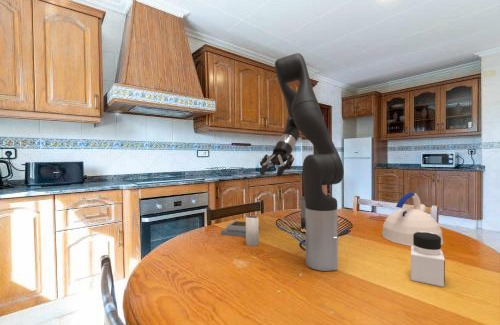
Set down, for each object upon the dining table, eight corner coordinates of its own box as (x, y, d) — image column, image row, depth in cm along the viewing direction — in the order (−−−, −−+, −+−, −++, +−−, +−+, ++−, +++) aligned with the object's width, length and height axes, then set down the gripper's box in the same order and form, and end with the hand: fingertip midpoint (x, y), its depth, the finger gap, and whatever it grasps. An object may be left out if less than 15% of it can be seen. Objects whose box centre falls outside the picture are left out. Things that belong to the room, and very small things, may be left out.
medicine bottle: (444, 287, 64) (445, 239, 63) (410, 280, 68) (410, 235, 67) (442, 276, 70) (442, 231, 69) (410, 270, 74) (410, 228, 73)
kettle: (452, 240, 99) (453, 193, 98) (429, 252, 87) (429, 198, 86) (397, 228, 115) (397, 187, 115) (371, 237, 104) (371, 192, 103)
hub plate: (259, 229, 116) (259, 221, 116) (250, 237, 105) (249, 228, 105) (232, 226, 121) (232, 219, 121) (221, 234, 109) (221, 226, 109)
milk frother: (296, 232, 111) (296, 198, 110) (310, 224, 124) (310, 193, 123) (329, 238, 103) (329, 201, 102) (340, 228, 116) (340, 195, 115)
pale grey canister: (260, 242, 99) (260, 215, 98) (256, 246, 94) (256, 218, 94) (248, 241, 100) (248, 214, 100) (244, 245, 96) (243, 217, 95)
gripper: (267, 141, 116) (251, 168, 108) (295, 139, 107) (280, 169, 99) (274, 152, 120) (259, 179, 112) (302, 152, 111) (288, 181, 103)
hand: (269, 174), depth 105 cm, fingers open, 8 cm apart
